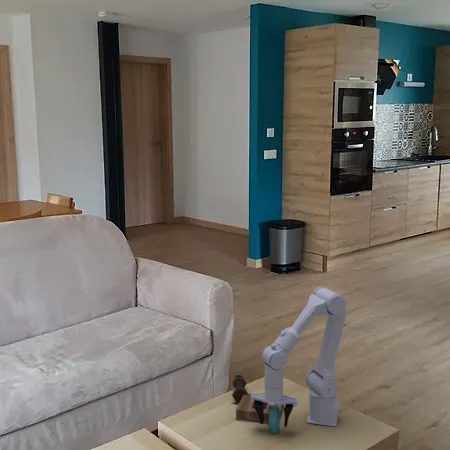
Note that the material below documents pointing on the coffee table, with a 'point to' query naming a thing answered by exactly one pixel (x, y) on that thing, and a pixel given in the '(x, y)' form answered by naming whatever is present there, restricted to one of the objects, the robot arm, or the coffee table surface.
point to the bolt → (239, 388)
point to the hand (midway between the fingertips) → (273, 424)
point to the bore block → (253, 410)
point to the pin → (274, 419)
